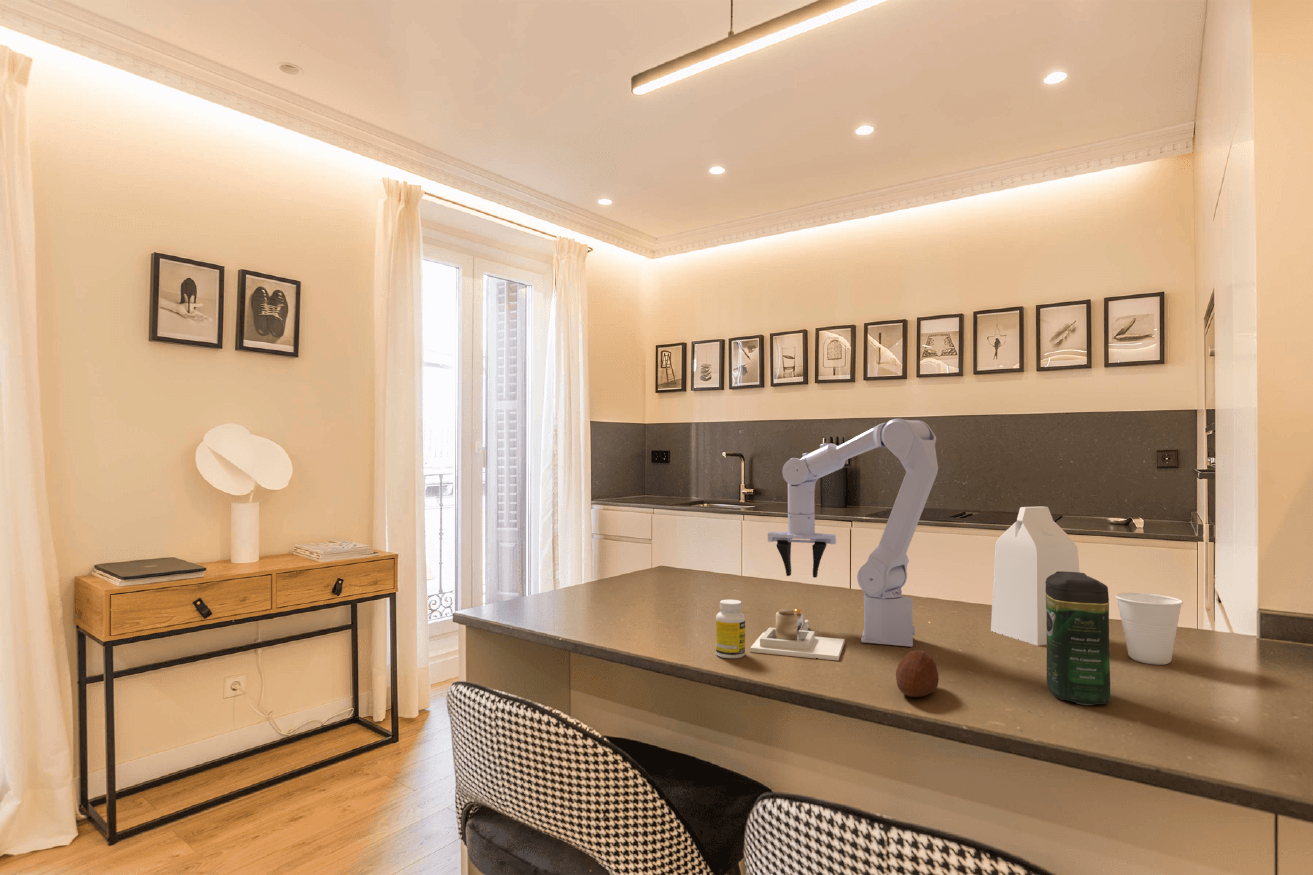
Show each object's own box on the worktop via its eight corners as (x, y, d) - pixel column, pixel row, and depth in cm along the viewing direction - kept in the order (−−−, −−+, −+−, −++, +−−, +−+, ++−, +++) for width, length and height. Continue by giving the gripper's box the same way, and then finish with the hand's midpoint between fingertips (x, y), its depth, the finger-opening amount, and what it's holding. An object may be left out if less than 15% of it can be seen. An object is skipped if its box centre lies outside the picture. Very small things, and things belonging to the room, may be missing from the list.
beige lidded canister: (797, 645, 132) (797, 608, 132) (796, 650, 128) (796, 613, 128) (777, 643, 133) (776, 607, 133) (775, 649, 129) (774, 612, 129)
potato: (887, 701, 102) (887, 658, 102) (904, 679, 112) (903, 640, 112) (930, 709, 99) (930, 664, 99) (943, 686, 108) (943, 645, 109)
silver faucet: (803, 625, 143) (802, 608, 143) (797, 635, 136) (796, 616, 136) (794, 624, 144) (794, 607, 144) (788, 634, 136) (787, 616, 137)
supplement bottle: (744, 660, 123) (743, 605, 123) (714, 658, 124) (713, 604, 124) (746, 651, 128) (746, 599, 128) (717, 649, 129) (717, 597, 129)
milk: (1035, 626, 146) (1033, 504, 146) (1084, 640, 135) (1081, 508, 135) (990, 631, 142) (988, 505, 143) (1037, 645, 131) (1035, 510, 132)
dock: (848, 630, 142) (848, 620, 143) (838, 660, 122) (838, 648, 122) (772, 624, 148) (772, 614, 148) (750, 651, 127) (750, 640, 128)
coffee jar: (1118, 710, 98) (1115, 580, 98) (1055, 703, 100) (1053, 577, 101) (1099, 688, 107) (1096, 569, 107) (1042, 683, 110) (1040, 567, 110)
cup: (1123, 648, 128) (1121, 590, 129) (1189, 659, 121) (1187, 597, 122) (1110, 660, 122) (1108, 598, 122) (1179, 672, 114) (1177, 606, 115)
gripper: (764, 514, 148) (765, 577, 147) (833, 515, 143) (834, 581, 142) (770, 511, 154) (771, 571, 154) (836, 513, 149) (837, 575, 149)
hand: (801, 575), depth 149 cm, fingers open, 5 cm apart
